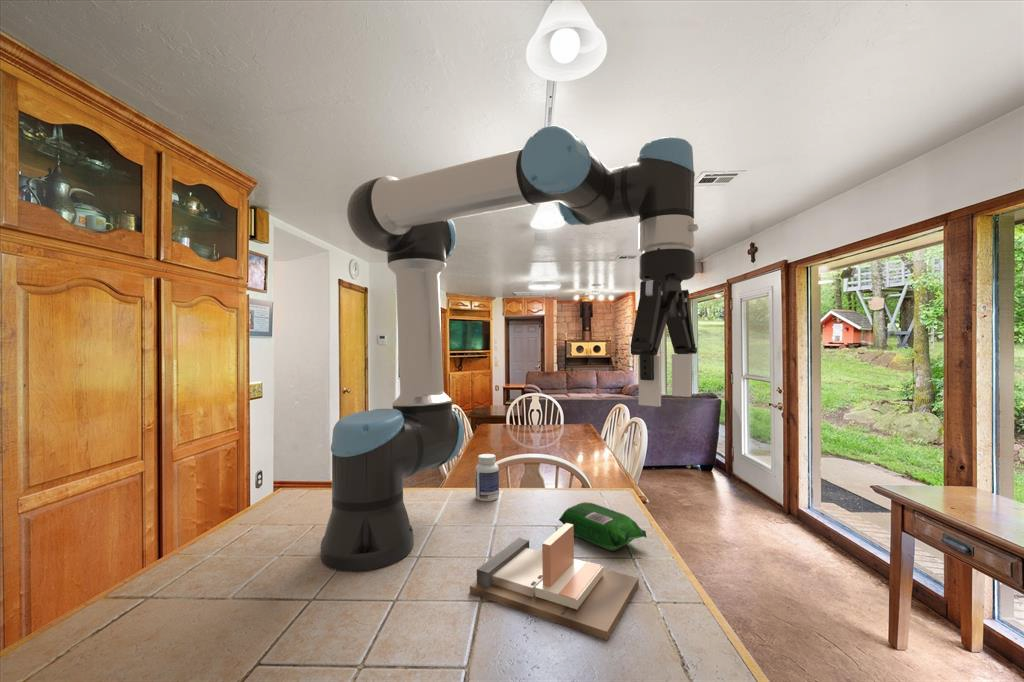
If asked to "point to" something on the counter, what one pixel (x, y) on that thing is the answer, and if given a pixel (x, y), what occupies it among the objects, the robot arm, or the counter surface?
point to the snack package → (601, 525)
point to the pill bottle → (487, 478)
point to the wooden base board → (515, 584)
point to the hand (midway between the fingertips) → (666, 400)
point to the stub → (565, 571)
